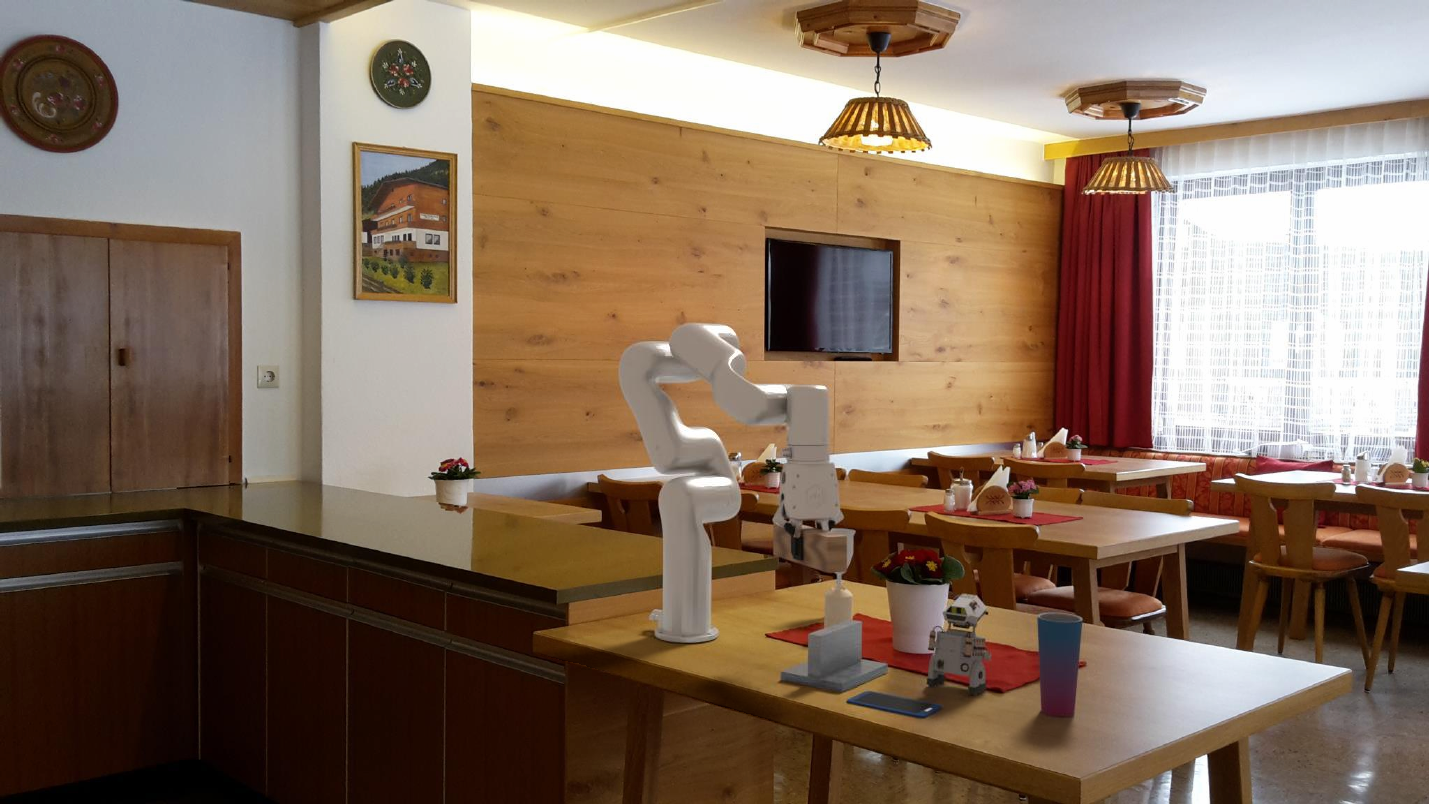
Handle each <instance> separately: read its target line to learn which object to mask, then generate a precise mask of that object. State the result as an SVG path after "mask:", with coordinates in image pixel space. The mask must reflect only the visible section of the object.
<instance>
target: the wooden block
mask: <svg viewBox="0 0 1429 804" xmlns="http://www.w3.org/2000/svg"><path fill="white" fill-rule="evenodd" d="M772 524H773V526H772V530H773V531H772V532H773V533H772V534H773V535H772V537H773V538H772V539H773V542H772V543H773V544H772V545H773V547H772V548H773V551H772V552H773V554H772V555H773V556H774V557H778V558H782V559H784V560H786V561H787V560H788V561H790V562H793V563H797V564H800V565H803V566H806V567H809V568H813V569H815V570H818V571H821V572H824V573H827V574H835V573H834V572H845V573H847V572H848V568H847V536H845V535H841V534H837V533H833V532H829V531H825V530H821V529H817V528H816V527H813V526H809V525H804V524H802V530H801V538H803V560H802V561H799V560H796V559H793V555H792V554H791V536H789V535H788V533H787V532H786V531H785V530H784V529H783V528H782V527H781V526H779V525H777V524H776V523H774V522H773V523H772Z"/></svg>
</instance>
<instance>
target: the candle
mask: <svg viewBox="0 0 1429 804" xmlns="http://www.w3.org/2000/svg"><path fill="white" fill-rule="evenodd" d="M853 602H854V594H853V593H852V592H851V591H850V590H848V589H847V588H846V587H844V586H843V585H841V586H840V587H837V586H834V587H830V588H829V589H828V591H826V592H825V593H824V622H823V624H824V625H823V626H824V628H827V627H830V626H833V625H836V624H839V623H841V622H844V621H847V620H853V616H854V615H853V614H854V613H853V612H854V611H853V606H854V603H853ZM824 628H823V629H824Z"/></svg>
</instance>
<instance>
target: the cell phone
mask: <svg viewBox="0 0 1429 804" xmlns="http://www.w3.org/2000/svg"><path fill="white" fill-rule="evenodd" d="M846 703H847V704H851V705H856V706H860V707H864V708H868V709H873V710H878V711H883V712H888V713H893V714H897V715H903V716H908V717H911V718H917V719H927V718H928V717H930V716H932V715H934V714H935V713H938V712H939V711H941V710H943V706H942V705H941V704H938V703H934V702H929V701H923V700H917V699H913V698H909V697H903V696H899V695H898V696H897V695H894V694H893V695H892V694H887V693H882V692H877V691H873V690H866V691H865V690H864V691H863V692H861V693H858V694H857V695H854V696H852V697H850V698H848V699H847V700H846Z"/></svg>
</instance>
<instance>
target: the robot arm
mask: <svg viewBox="0 0 1429 804" xmlns="http://www.w3.org/2000/svg"><path fill="white" fill-rule="evenodd" d="M737 335H738V334H737V333H736V332H735V331H734V330H733V329H732V328H731V327H729V326H727V325H725V324H723V323H704V322H689V323H683V324H681V325H680V326H678V327H676V328H675V329H674V330H673V331H672V333H671V334H670V336H669V340H668V341H657V340H654V341H653V340H652V341H648V340H647V341H639V342H637V343H633V344H631V345H629V346H628V347H627V348H626V349H625V350H624V351H623V352H622V353H621V354H622V355H621V357H620V360H619V364H618V365H619V366H618V382H619V386H620V390H621V392H622V395H623V397H624V399H625V401H626V403H627V404H628V405H627V406H628V407H629V408H630V410H631V412H632V415H633V416H634V418H635V421H636V423H637V427H638V430H639V432H640V435H641V438H642V441H643V444H644V446H645V448H646V451H647V454H648V457H649V460H650V462H651V464H652V466H653V468H654V469H655V470H656V472H657V473H659V474H661V475H666V476H667V475H668V476H669V475H670V476H671V475H672V476H675V475H676V476H678V477H675V478H672V479H670V480H669V481H667V482H665V484H664V485H662V487H661V489H660V490H659V494H658V509H659V514H660V520H661V528H662V546H663V549H662V555H663V556H662V559H663V561H662V566H663V567H662V609H658V608H656V609H653V610H652V612H651V613H650V614H649V615H648V619H649V621H651V622H658V626H657V627H656V628H655V629H654V636H655V637H656V638H657V639H660V640H662V641H666V642H672V643H681V644H682V643H686V644H687V643H691V644H692V643H704V642H709V641H713V640H715V639H717V638H718V637H719V629H718V628H717V627H715V626H714V625H713V626H712V545H711V543H712V542H711V540H710V538H709V535H708V532H706V530H705V527H704V524H706V523H715V522H716V523H717V522H723V521H727V520H731V519H732V518H734V517H735V516H737V514H738V513H739V511H740V509H741V505H742V495H741V494H742V492H741V488H740V486H739V482H738V480H737V477H736V474H735V471H734V469H733V466H732V464H731V463H732V462H731V461H730V457H729V456H728V453H727V451H726V448H725V446H724V443H723V442H722V439H721V438H720V436H719V435H718V434H717V433H716V432H715V431H713V430H712V429H711V428H709V427H706V426H705V427H704V426H686V425H685V424H684V423H683V421H682V419H681V417H680V415H679V411H678V409H677V407H676V405H675V403H674V401H673V400H672V399H671V398H670V396H669V394H667V393H666V392H665V391H664V390H663V389H661V387H659V384H687V383H693V382H696V381H698V380H701V379H702V380H703V381H704V382H706V383H707V384H709V385H710V387H711V388H710V389H711V392H712V396H713V398H714V401H715V403H716V404H717V407H718V406H719V408H720V409H721V410H722V411H724V412H725V413H727V415H729V416H731V417H732V418H733V419H735V420H736V421H738V422H740V423H741V424H744V425H746V426H747V425H748V426H751V427H763V426H786V445H785V448H783V449H780V452H779V455H780V457H782V458H785V460H786V462H783V465H782V470H781V476H780V483H779V498H778V508H777V509H776V512H775V513H774V516H773V518H772V522H773V523H776V524H777V525H779V526H781V527H782V528H783V529H784V530H785V531H786V532H787V533H788V535H789V536H791V554H792V555H793V559H796V560H799V561H802V560H803V538H801V530H802V525H803V521H814V525H815V526H814V528H817V529H821V530H825V531H829V532H830V530H831V529H834V527H835V525H837V524H839V523H840V522H841V521H843V520H844V519H845V517H844V514H843V512H842V510H841V505H840V504H841V503H840V490H839V481H838V476H837V474H838V473H837V470H836V466H835V462H832V461H830V460H831V459H830V458H831V457H830V455H831V454H830V391H829V389H828V388H827V387H826V386H824V385H820V384H799V385H798V384H792V383H791V384H790V383H753V382H751V381H748V380H747V379H745V378H744V375H745V373H746V371H747V360H746V359H747V358H746V356H745V355H744V353H743V352H742V351H741V350H740V341H739V338H738V336H737ZM689 474H691V475H689ZM693 474H694V475H693ZM680 475H684V476H680ZM786 519H789V521H787V520H786Z"/></svg>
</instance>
